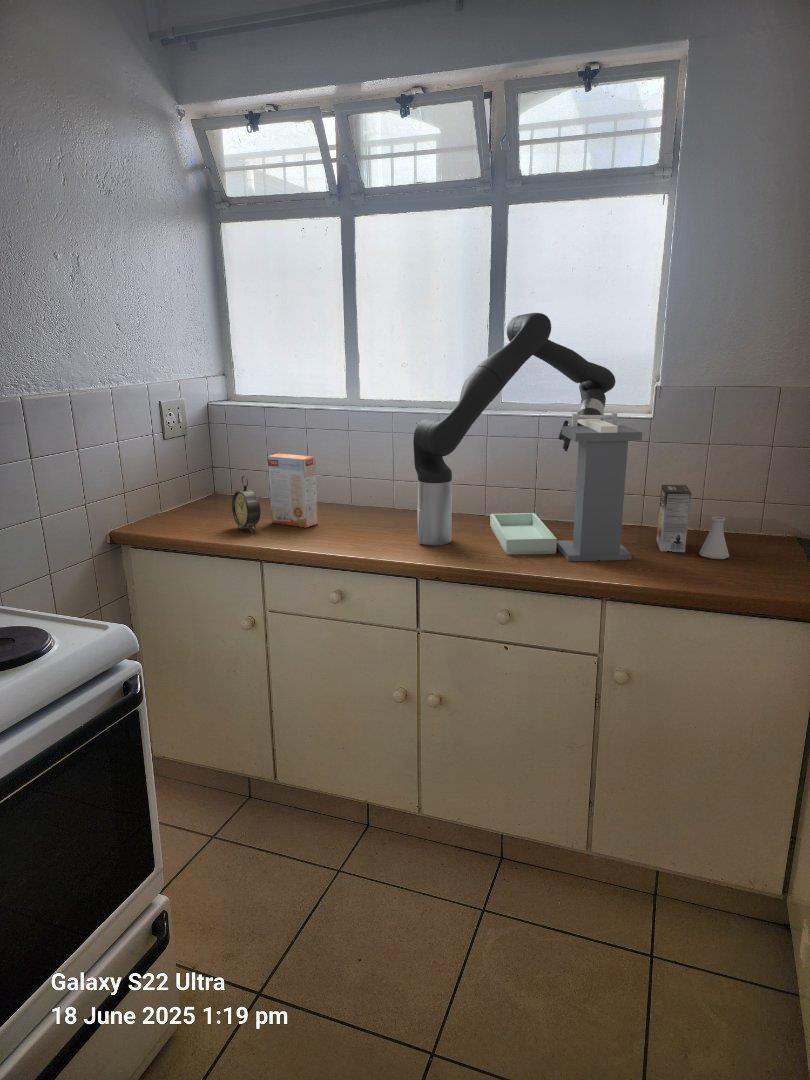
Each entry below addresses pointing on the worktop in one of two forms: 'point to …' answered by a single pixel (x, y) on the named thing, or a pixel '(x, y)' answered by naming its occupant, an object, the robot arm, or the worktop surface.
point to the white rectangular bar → (599, 425)
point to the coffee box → (673, 517)
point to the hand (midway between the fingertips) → (581, 453)
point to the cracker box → (293, 489)
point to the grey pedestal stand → (598, 491)
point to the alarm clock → (246, 508)
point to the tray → (522, 534)
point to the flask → (715, 541)
